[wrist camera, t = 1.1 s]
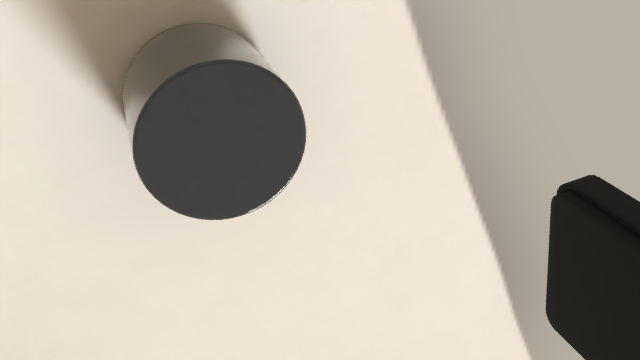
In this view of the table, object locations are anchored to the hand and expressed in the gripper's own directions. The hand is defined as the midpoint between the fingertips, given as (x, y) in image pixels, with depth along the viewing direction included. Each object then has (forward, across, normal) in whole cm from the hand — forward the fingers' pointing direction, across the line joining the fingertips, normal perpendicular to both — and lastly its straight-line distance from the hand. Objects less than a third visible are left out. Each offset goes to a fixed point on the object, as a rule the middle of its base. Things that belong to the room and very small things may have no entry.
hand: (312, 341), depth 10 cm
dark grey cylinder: (+10, 0, -1) cm, 10 cm away
